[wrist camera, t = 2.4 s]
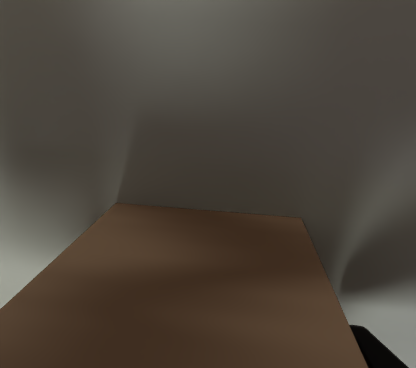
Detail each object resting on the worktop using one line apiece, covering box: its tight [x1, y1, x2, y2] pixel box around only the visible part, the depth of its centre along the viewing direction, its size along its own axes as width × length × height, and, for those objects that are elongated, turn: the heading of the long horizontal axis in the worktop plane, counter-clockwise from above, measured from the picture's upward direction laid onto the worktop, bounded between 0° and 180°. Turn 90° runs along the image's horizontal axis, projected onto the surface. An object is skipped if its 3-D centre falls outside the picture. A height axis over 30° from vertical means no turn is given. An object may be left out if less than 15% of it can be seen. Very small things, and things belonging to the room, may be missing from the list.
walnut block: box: [0, 203, 368, 368], centre depth 6 cm, size 5×5×5 cm
